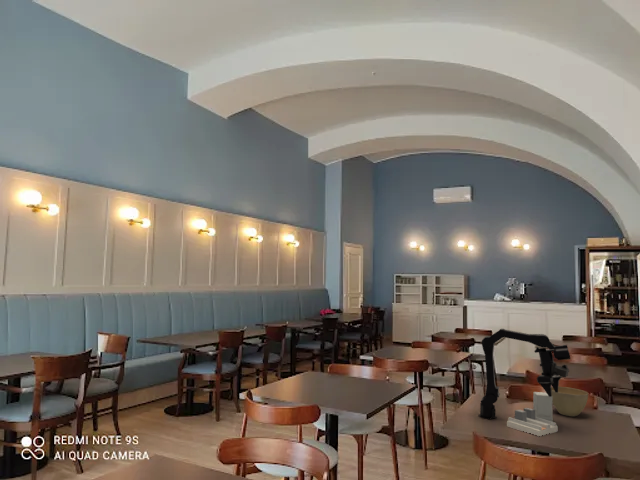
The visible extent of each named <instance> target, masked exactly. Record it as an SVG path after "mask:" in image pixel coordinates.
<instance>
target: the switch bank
mask: <svg viewBox="0 0 640 480" xmlns="http://www.w3.org/2000/svg"><path fill="white" fill-rule="evenodd" d="M507 418H508V419H507V421H506V427H508V428H511V429H514V430H518V431H520V432H523V431H524V432H523V433H526V432H527V434H529V433H531V434H530V435H532V434H534V435H533V436H535V435H537V436H536V437H539V436H540V437H543V436H547V435H549V433H550V434H553V433H557V432H558V428H559V427H558V425H557V422H555V421H552V422H551V421H548V420H544V419H541V418H537V417H535V420H534V419H530V418H527V422H524V421H521V420H518V419H515V417H510V416H509V417H507ZM546 434H547V435H546ZM542 435H543V436H542Z"/></svg>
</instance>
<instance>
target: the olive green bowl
mask: <svg viewBox="0 0 640 480" xmlns="http://www.w3.org/2000/svg"><path fill="white" fill-rule="evenodd" d="M551 390H552V405H553V406H554V408H555V409H556V411H557V412H558V413H559V414H560V415H563V416H567V417H577V416H579V415H580V414H581V413H582V412H583V411H584V409H585V407H586V405H587V402H588V400H589V392H588V391H586V390H582V389H578V388H572V387H567V386H559V387H558V392H555V391H554V389H553V387H552V386H551Z"/></svg>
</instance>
